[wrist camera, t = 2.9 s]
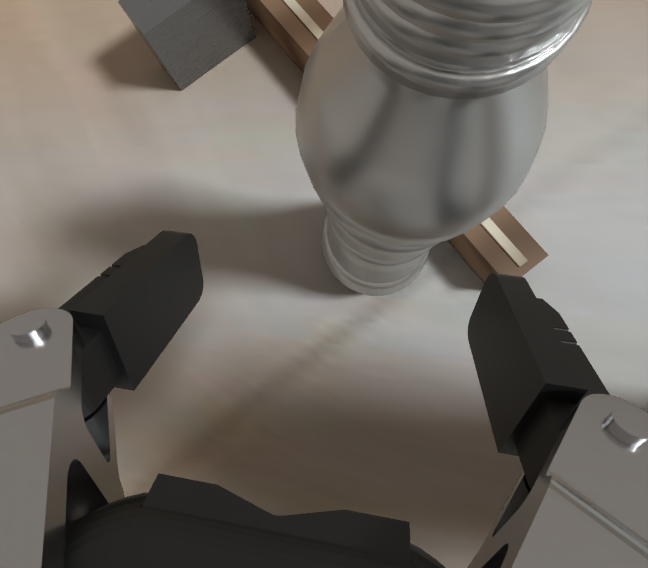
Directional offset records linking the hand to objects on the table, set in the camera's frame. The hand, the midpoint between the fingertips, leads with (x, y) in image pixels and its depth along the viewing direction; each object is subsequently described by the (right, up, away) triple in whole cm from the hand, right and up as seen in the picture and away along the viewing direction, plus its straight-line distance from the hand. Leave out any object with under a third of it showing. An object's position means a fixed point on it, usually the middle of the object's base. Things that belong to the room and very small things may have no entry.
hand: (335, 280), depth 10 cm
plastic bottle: (+3, +2, +14) cm, 15 cm away
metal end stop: (-9, +18, +17) cm, 26 cm away
